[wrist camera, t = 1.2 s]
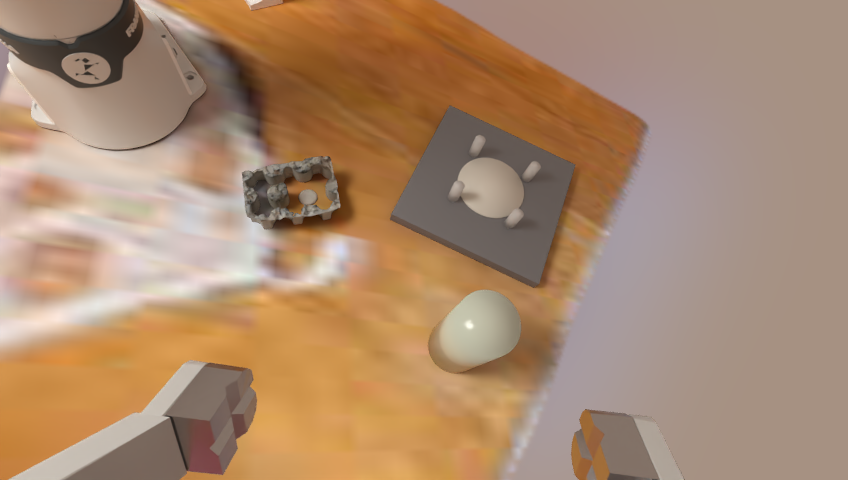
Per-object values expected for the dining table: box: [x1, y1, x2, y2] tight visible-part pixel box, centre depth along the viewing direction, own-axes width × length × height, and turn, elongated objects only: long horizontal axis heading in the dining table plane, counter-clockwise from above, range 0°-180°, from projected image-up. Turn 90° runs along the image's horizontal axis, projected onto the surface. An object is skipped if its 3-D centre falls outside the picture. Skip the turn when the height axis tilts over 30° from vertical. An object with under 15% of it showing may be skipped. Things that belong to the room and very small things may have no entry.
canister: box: [428, 290, 521, 373], centre depth 41 cm, size 6×6×12 cm
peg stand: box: [390, 106, 575, 288], centre depth 54 cm, size 20×20×4 cm
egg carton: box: [242, 156, 340, 229], centre depth 49 cm, size 11×8×4 cm
